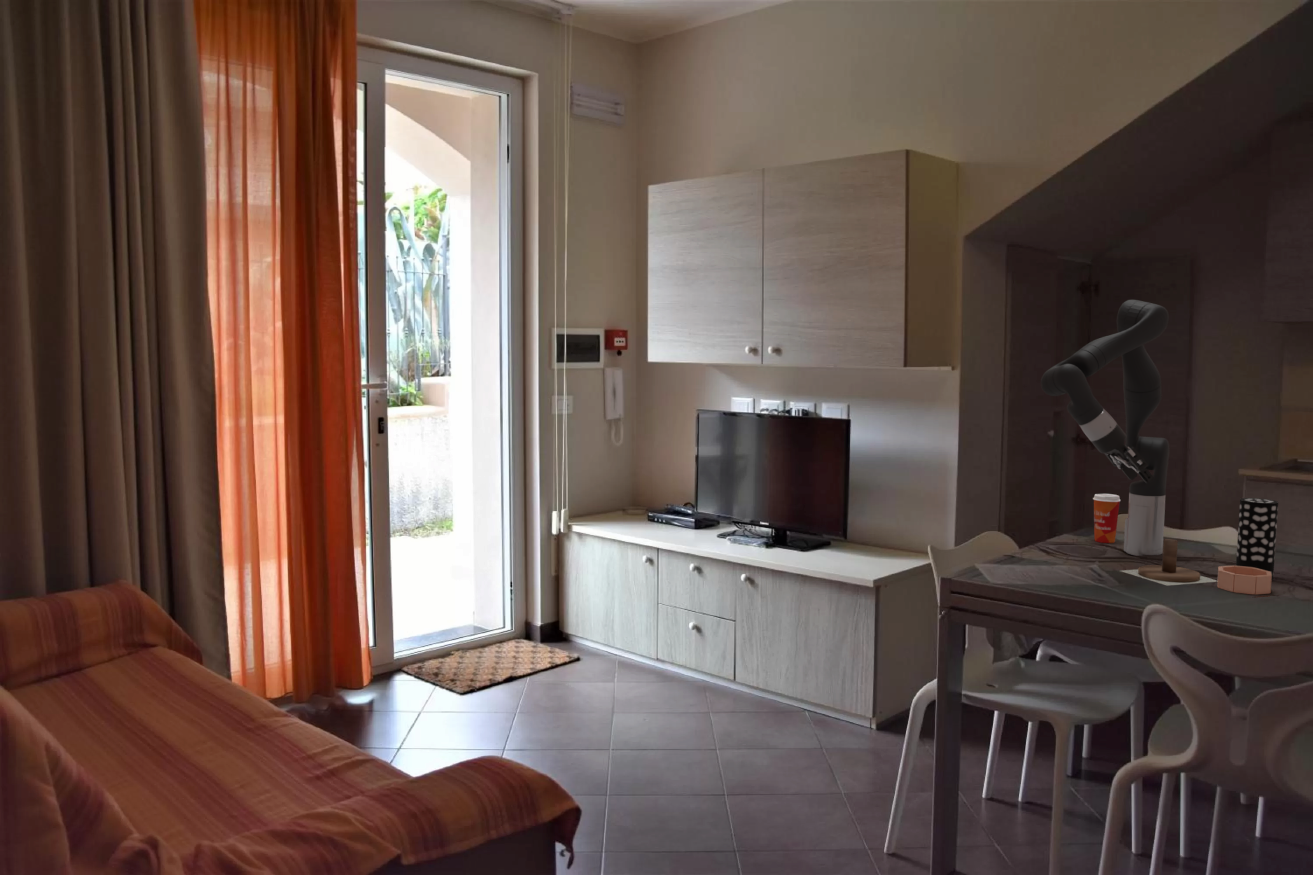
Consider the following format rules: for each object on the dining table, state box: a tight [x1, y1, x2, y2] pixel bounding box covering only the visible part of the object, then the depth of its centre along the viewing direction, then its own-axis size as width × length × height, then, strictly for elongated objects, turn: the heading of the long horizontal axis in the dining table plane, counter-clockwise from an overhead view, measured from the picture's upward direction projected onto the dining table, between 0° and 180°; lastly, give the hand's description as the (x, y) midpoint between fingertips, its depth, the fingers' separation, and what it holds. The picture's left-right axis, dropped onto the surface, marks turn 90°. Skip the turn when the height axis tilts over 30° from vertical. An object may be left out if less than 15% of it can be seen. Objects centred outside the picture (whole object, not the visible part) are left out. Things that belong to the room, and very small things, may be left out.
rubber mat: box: [1120, 568, 1218, 587], centre depth 254 cm, size 16×16×1 cm
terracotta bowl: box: [1216, 565, 1273, 599], centre depth 241 cm, size 11×11×5 cm
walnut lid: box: [1137, 538, 1201, 583], centre depth 253 cm, size 14×14×9 cm
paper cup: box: [1092, 493, 1121, 544], centre depth 300 cm, size 8×8×14 cm
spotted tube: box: [1235, 497, 1279, 581], centre depth 254 cm, size 8×8×20 cm
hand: (1142, 479), depth 252 cm, fingers open, 8 cm apart
